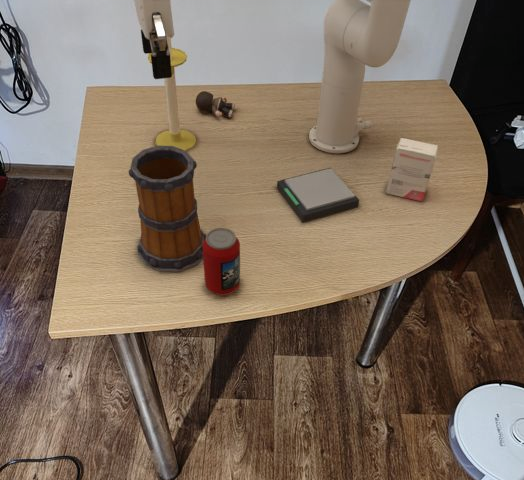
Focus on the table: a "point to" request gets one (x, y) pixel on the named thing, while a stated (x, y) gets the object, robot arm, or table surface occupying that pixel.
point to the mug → (167, 209)
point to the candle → (174, 107)
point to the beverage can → (221, 261)
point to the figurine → (214, 104)
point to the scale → (317, 194)
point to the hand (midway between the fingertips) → (157, 64)
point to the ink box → (411, 169)
